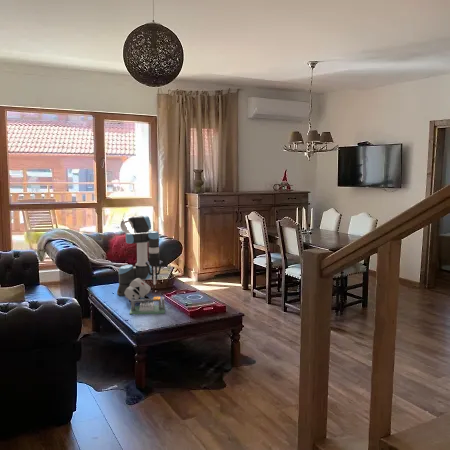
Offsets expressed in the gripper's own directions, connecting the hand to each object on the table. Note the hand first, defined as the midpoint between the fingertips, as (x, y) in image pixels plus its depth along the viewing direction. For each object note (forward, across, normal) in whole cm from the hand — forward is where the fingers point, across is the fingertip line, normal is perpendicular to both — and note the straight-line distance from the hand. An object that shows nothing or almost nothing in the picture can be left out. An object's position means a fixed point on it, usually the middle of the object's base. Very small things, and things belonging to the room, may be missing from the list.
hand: (154, 283), depth 340 cm
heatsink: (+19, -6, 0) cm, 20 cm away
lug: (+19, +5, 0) cm, 19 cm away
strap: (+13, -6, 0) cm, 14 cm away
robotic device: (+20, -13, +18) cm, 31 cm away
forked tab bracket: (+19, -16, 0) cm, 25 cm away
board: (+20, -5, 0) cm, 21 cm away
